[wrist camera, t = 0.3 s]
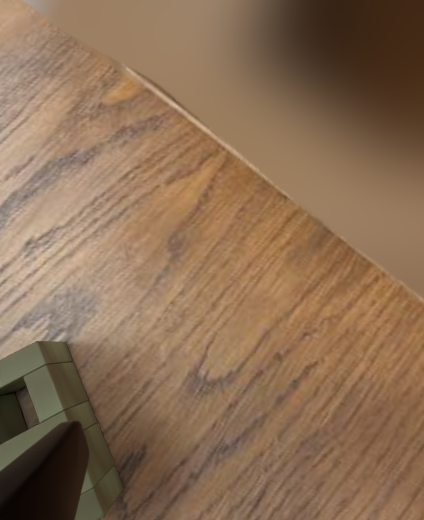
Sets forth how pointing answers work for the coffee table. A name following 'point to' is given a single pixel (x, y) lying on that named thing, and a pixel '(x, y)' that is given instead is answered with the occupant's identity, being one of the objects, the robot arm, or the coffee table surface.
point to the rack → (55, 418)
